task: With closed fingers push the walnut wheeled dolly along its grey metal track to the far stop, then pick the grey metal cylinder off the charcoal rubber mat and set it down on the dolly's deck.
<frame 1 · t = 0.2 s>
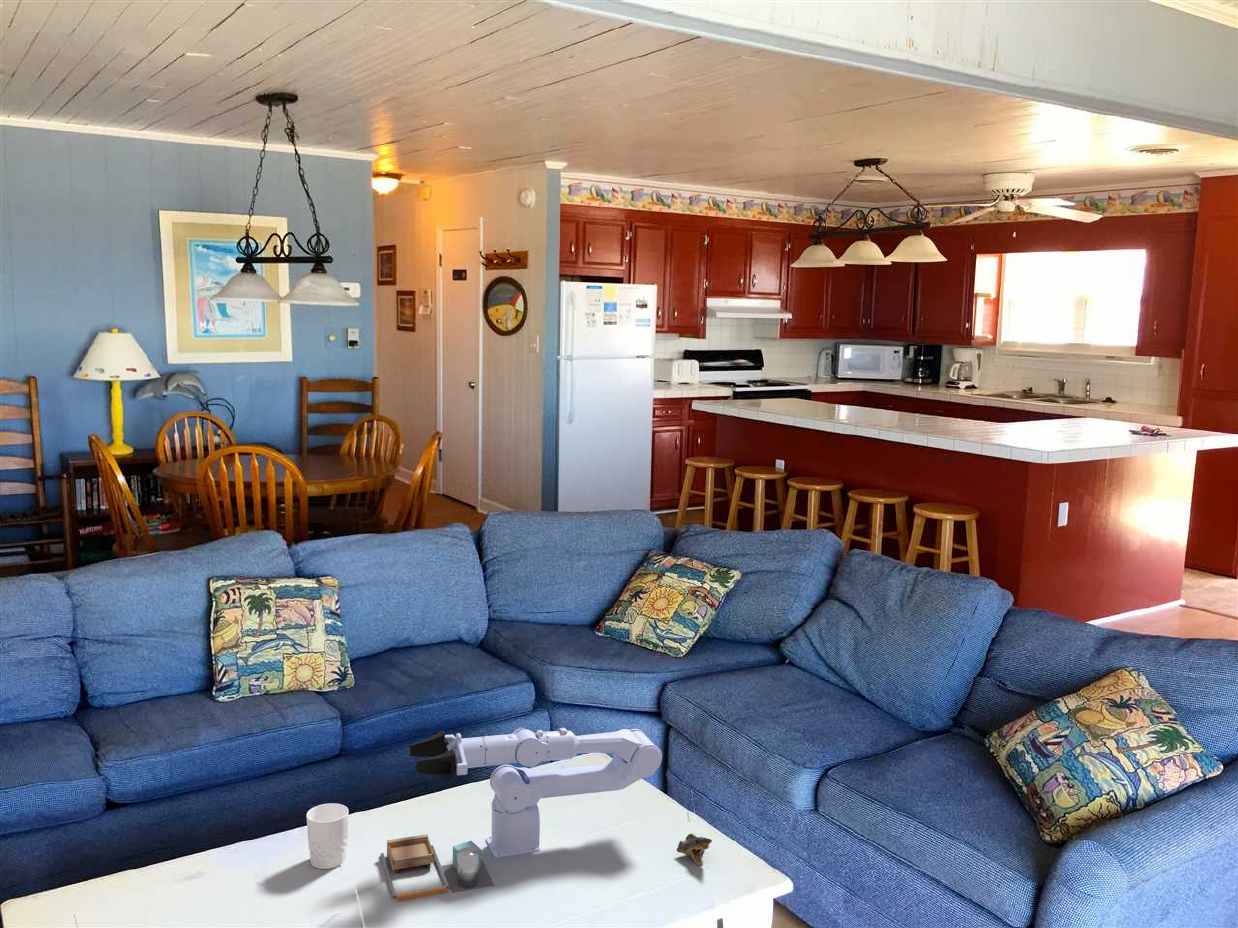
hand: (412, 758, 196), 21 cm above the table, tool horizontal, fingers open, 7 cm apart
part b: (466, 866, 196), resting on mat
part a: (467, 882, 191), resting on mat
shark head: (696, 861, 202), on the table
brown wooden tray: (410, 854, 198), point 2 cm above the table, slide at 0.0 cm
mat: (467, 876, 194), on the table
white cup: (328, 861, 198), on the table
track: (413, 873, 194), on the table
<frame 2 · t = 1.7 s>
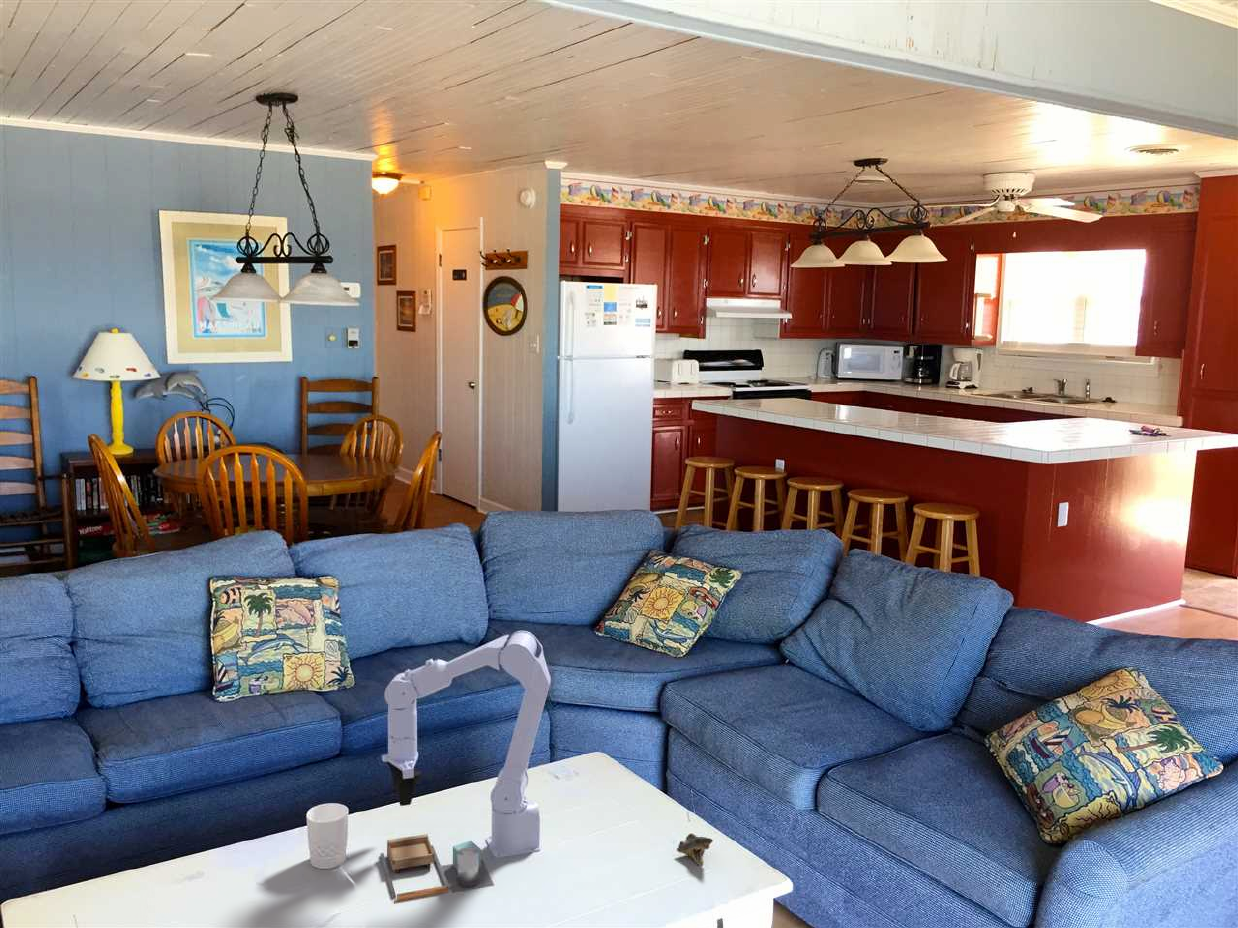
hand: (402, 797, 205), 9 cm above the table, tool pointing down, fingers open, 6 cm apart
nothing on the table moved.
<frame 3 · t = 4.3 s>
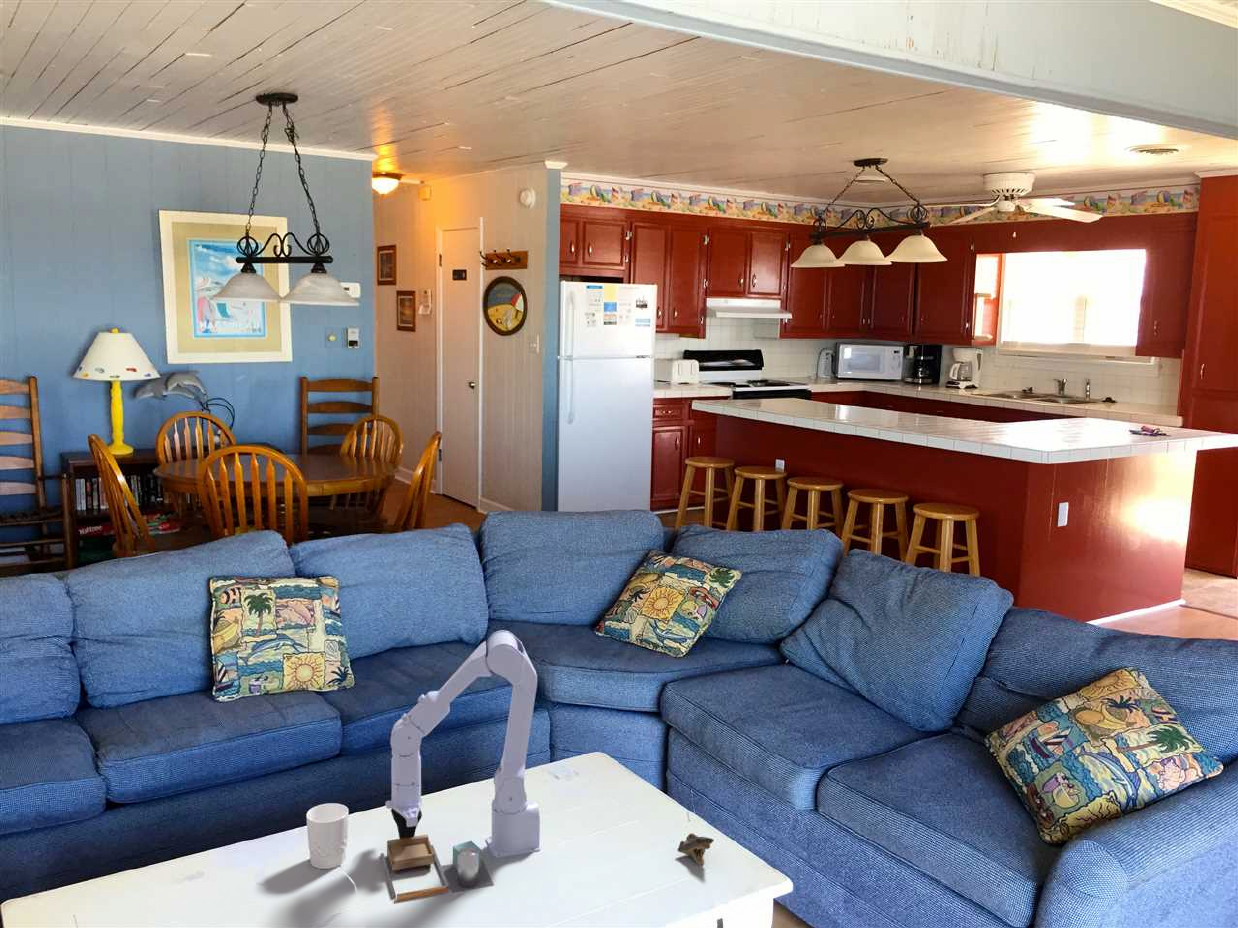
hand: (406, 843, 202), 2 cm above the table, tool pointing down, fingers closed
brown wooden tray: (410, 854, 197), point 2 cm above the table, slide at 0.1 cm, touching gripper
everything else where it was.
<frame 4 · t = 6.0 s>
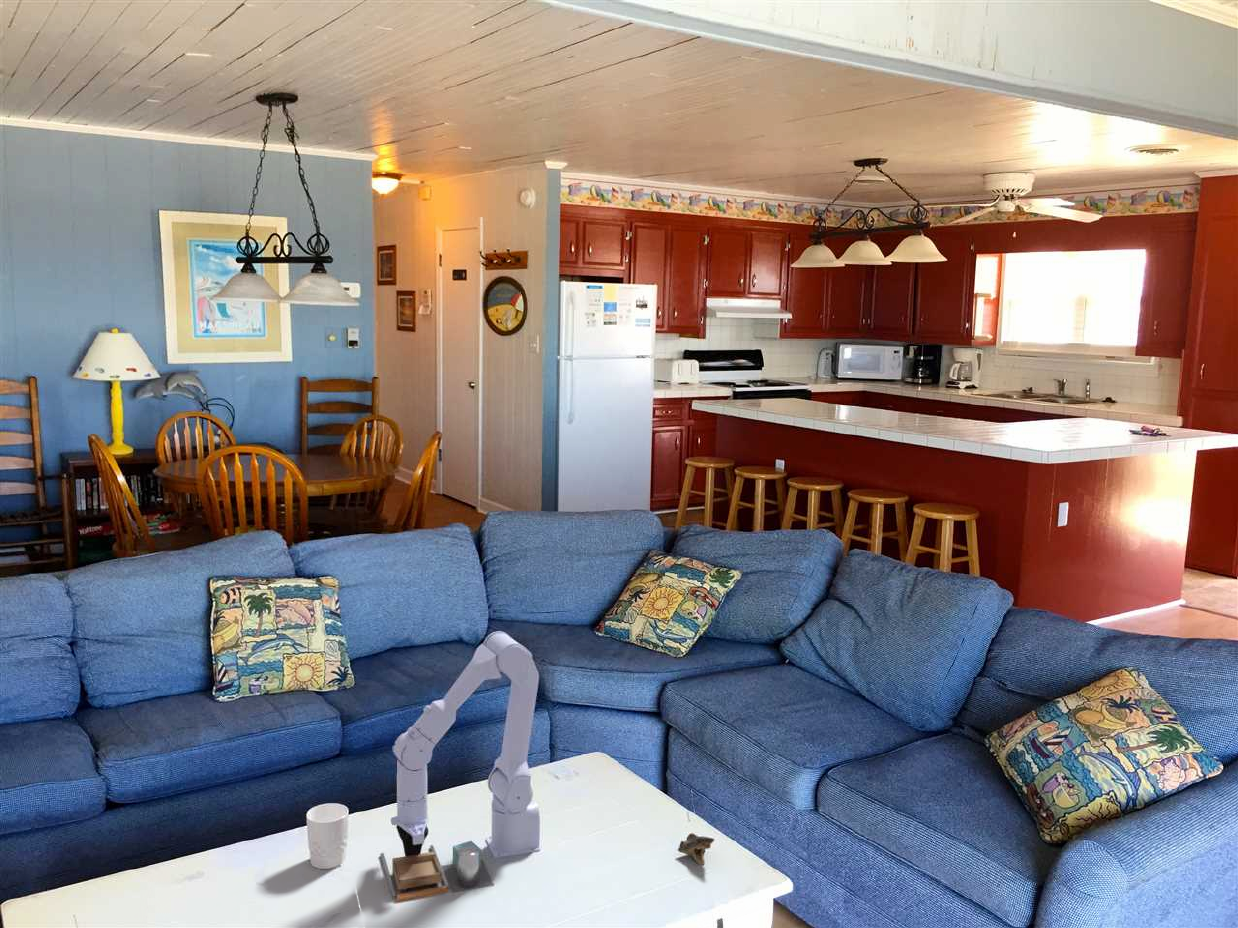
hand: (412, 861, 196), 2 cm above the table, tool pointing down, fingers closed
brown wooden tray: (416, 873, 191), point 2 cm above the table, slide at 7.2 cm, touching gripper
everything else where it was.
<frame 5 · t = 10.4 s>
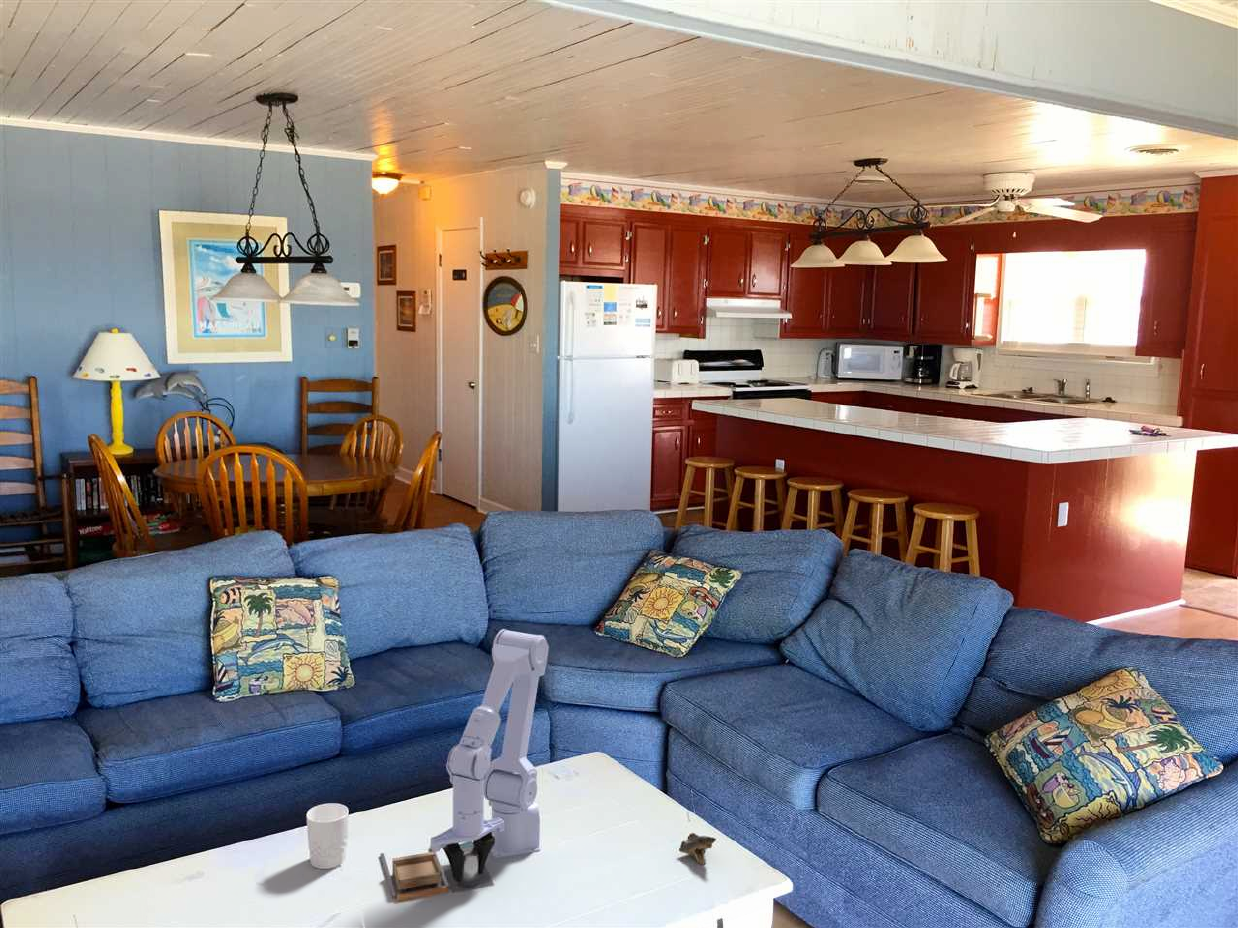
hand: (467, 875, 191), 2 cm above the table, tool pointing down, fingers closed on part a, 4 cm apart
part a: (467, 882, 191), resting on mat, touching gripper
brown wooden tray: (416, 873, 191), point 2 cm above the table, slide at 7.2 cm
everything else where it was.
when the fingers open (5 cm above the table, at t = 13.0 s): part a stays where it is, resting on brown wooden tray.
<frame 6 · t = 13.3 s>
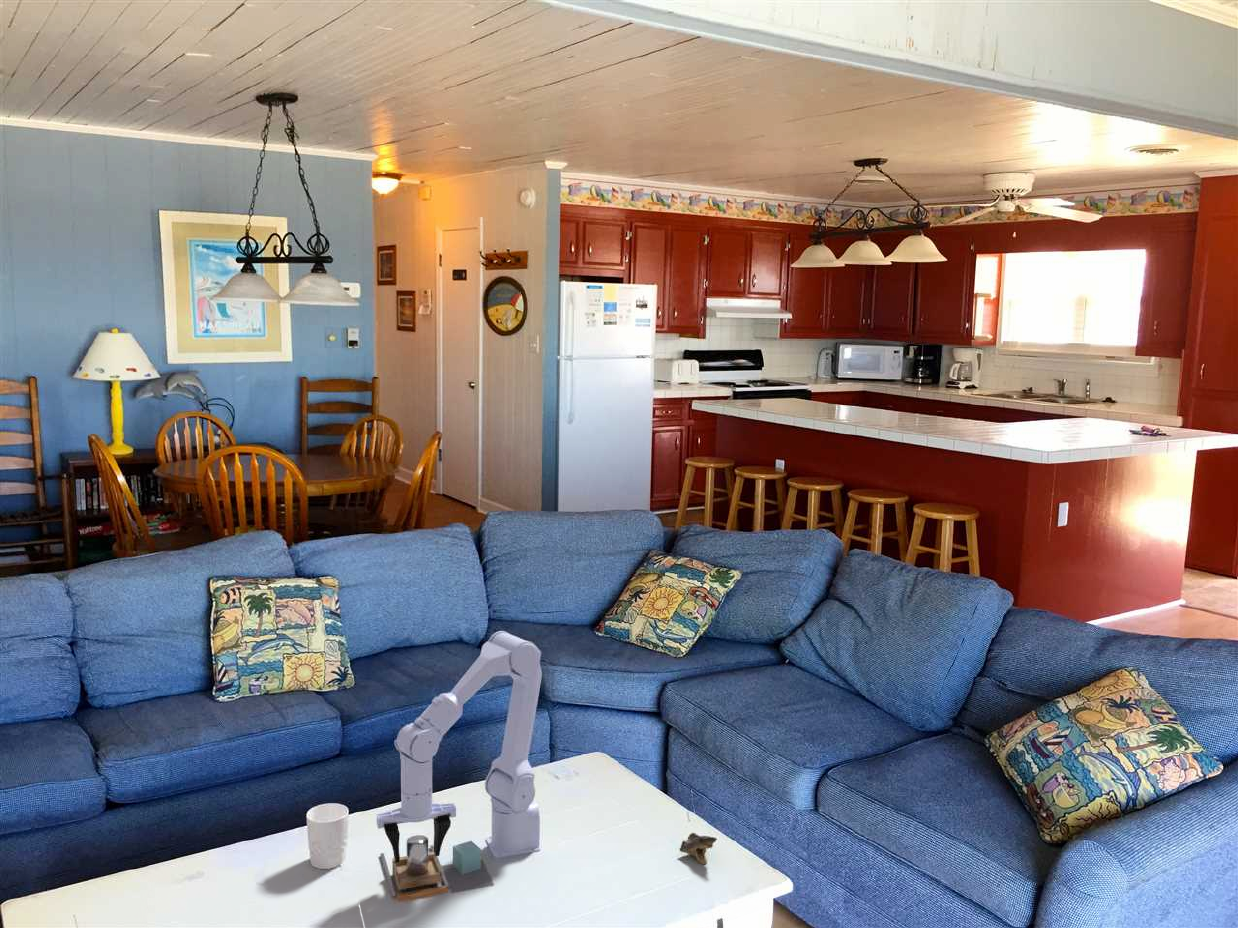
hand: (416, 856, 190), 5 cm above the table, tool pointing down, fingers open, 7 cm apart
part a: (417, 870, 191), point 3 cm above the table, touching brown wooden tray
brown wooden tray: (416, 873, 191), point 2 cm above the table, slide at 7.2 cm, touching part a
everything else where it was.
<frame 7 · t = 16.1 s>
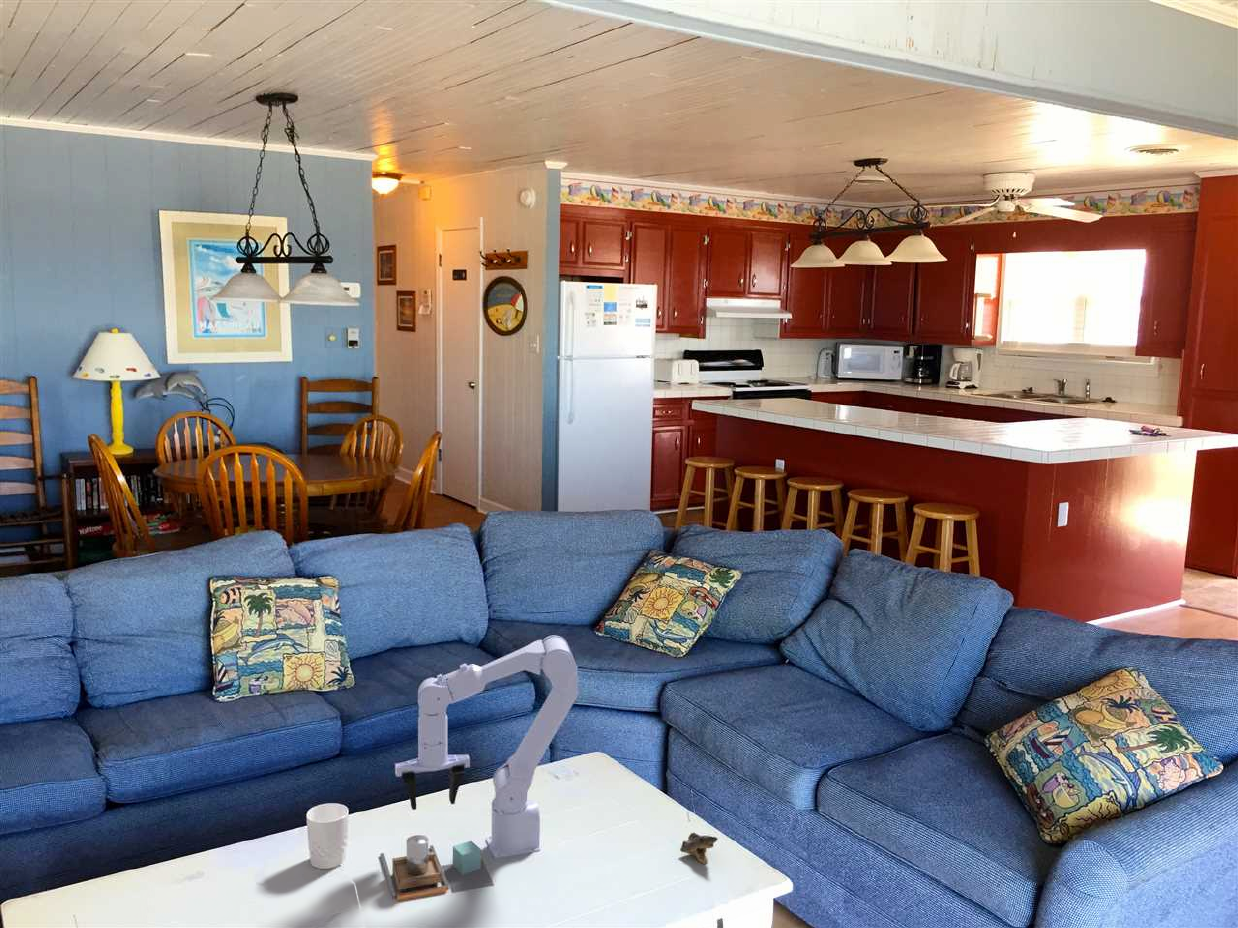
hand: (432, 804, 201), 10 cm above the table, tool pointing down, fingers open, 7 cm apart
at the end: brown wooden tray slide at 7.2 cm; part a 0.1 cm from the brown wooden tray (horizontally); part a point 2.6 cm above the table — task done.
